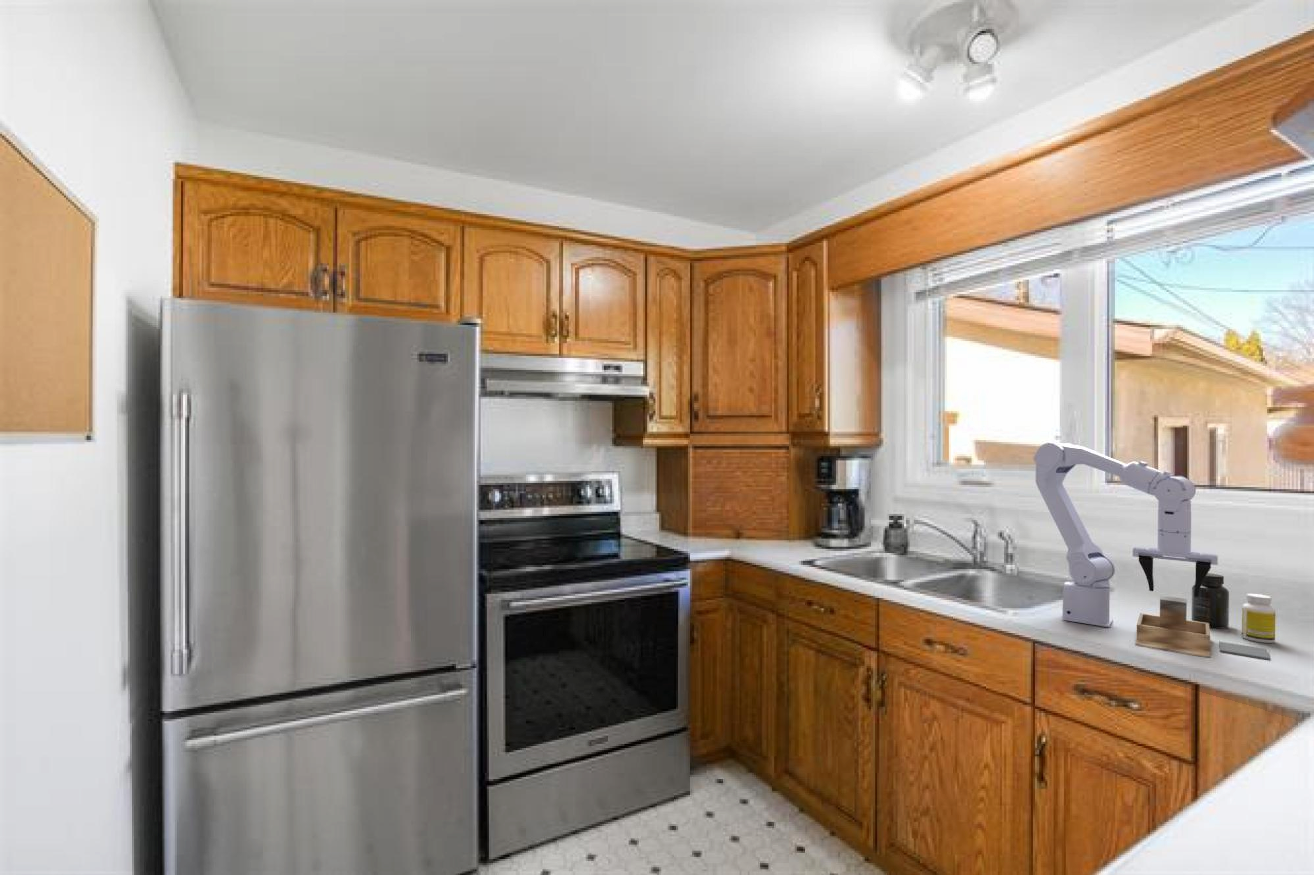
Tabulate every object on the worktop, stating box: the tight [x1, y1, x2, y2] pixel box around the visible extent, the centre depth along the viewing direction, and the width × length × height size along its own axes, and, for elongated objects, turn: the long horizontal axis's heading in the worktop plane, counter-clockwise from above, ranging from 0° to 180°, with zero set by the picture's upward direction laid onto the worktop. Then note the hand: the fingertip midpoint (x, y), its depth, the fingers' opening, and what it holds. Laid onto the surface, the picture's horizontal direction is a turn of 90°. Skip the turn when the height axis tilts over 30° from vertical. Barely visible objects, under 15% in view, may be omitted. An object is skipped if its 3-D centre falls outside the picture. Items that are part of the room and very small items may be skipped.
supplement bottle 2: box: [1241, 593, 1276, 644], centre depth 142 cm, size 5×5×10 cm
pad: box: [1218, 641, 1271, 661], centre depth 134 cm, size 8×8×1 cm
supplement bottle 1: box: [1191, 572, 1230, 629], centre depth 154 cm, size 7×7×12 cm
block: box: [1159, 595, 1188, 632], centre depth 142 cm, size 4×4×9 cm
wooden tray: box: [1134, 612, 1211, 658], centre depth 142 cm, size 12×20×4 cm, turn 140°
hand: (1173, 593), depth 142 cm, fingers open, 7 cm apart
